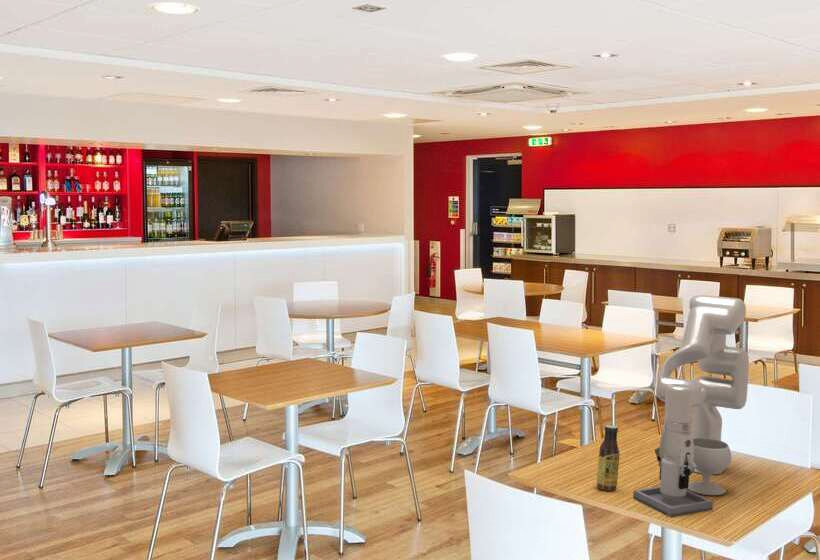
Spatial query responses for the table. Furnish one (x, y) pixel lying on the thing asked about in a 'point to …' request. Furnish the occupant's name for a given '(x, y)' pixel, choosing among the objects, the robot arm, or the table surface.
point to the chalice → (709, 464)
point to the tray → (672, 502)
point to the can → (671, 479)
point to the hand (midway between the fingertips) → (673, 483)
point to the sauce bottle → (608, 460)
